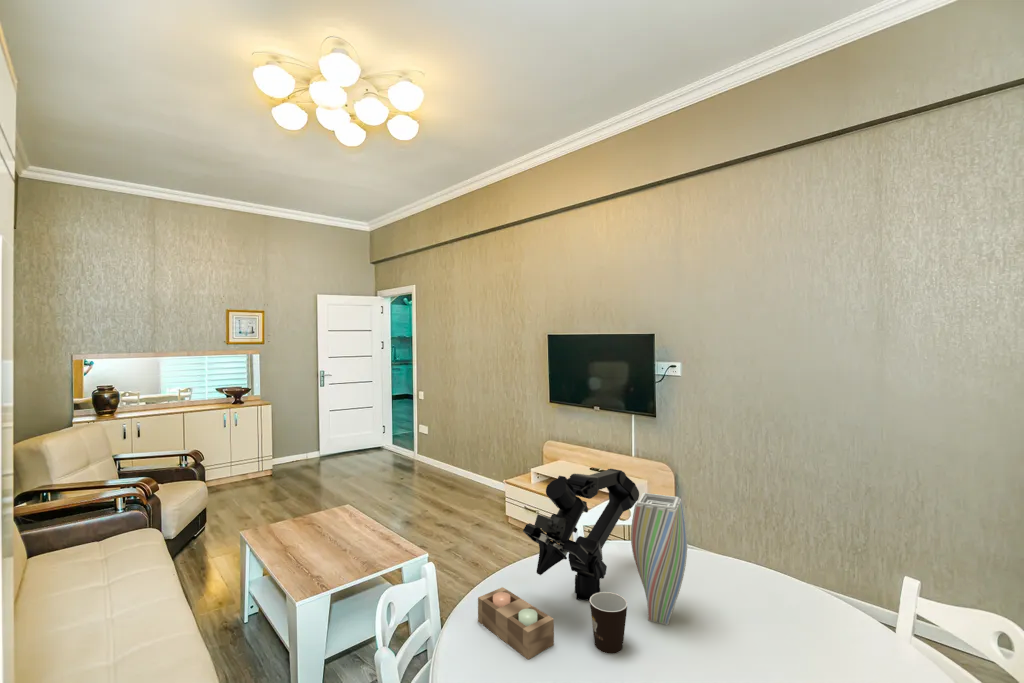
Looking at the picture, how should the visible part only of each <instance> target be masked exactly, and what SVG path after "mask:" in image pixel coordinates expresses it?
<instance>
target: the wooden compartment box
mask: <svg viewBox="0 0 1024 683" xmlns="http://www.w3.org/2000/svg"><path fill="white" fill-rule="evenodd" d="M498 592H505V593H508V594H509V595H510V603H509V604H507V605H505V606H503V607H500V608H499V607H498V606H496V605H495V604H493V595H494V594H495V593H498ZM523 609H533V610H535V611H536V612H537V622H535V623H533V624H531V625H529V626H526V625H524V624H523V623H521V622H520V621H519V612H520V611H521V610H523ZM477 623H479V624H481V626H484V628H486V629H487V630H489V631H490V632H491V633H493V635H495V636H497V637H498V638H499V639H500V640H501V641H502V642H504V643H506V645H508V646H510V648H512V649H514V650H515V651H516V652H517V653H519V654H520V655H522V656H523V657H524V658H526V659H527V660H530V659H532V658H534V657H536V656H537V655H539V654H541V653H542V652H544V651H546V650H548V649H550V648H552V647H553V646H554V645H555V618H553V617H552V616H550V615H549V614H547V613H545V612H544V611H542V610H540V609H538V608H537V607H535V606H533V605H532V604H531V603H529V602H528V601H526V600H525V599H522V597H519V596H518V595H516V594H515V593H513V592H511V591H510V590H508V589H506V587H503V586H501V587H500V588H497V589H494V590H492V591H490V592H488V593H485V594H483V595H480V596H478V597H477Z"/></svg>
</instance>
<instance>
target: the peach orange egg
mask: <svg viewBox="0 0 1024 683" xmlns="http://www.w3.org/2000/svg"><path fill="white" fill-rule="evenodd" d="M509 603H510V595H509V594H508V593H505V592H498V593H495V594H494V595H493V604H495V605H496V606H498V607H499V608H500V607H503V606H505V605H507V604H509Z"/></svg>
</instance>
